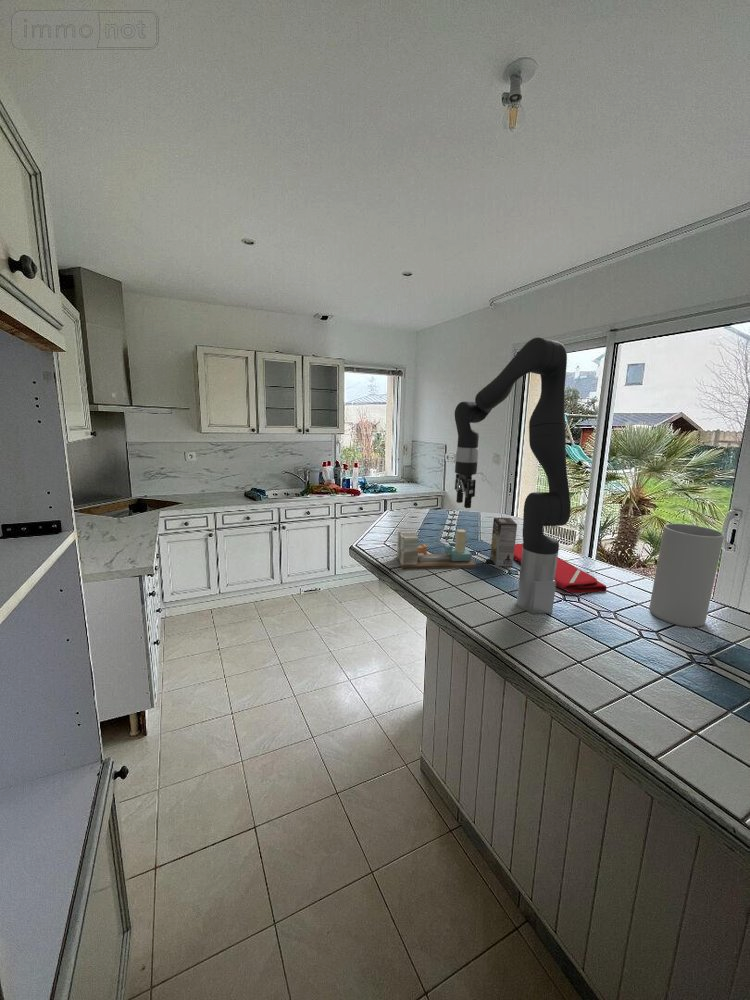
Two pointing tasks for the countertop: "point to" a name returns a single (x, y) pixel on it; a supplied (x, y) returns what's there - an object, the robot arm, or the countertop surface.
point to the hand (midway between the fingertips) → (463, 505)
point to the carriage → (459, 548)
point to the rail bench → (413, 560)
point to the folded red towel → (569, 576)
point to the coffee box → (503, 541)
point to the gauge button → (422, 549)
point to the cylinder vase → (685, 574)
